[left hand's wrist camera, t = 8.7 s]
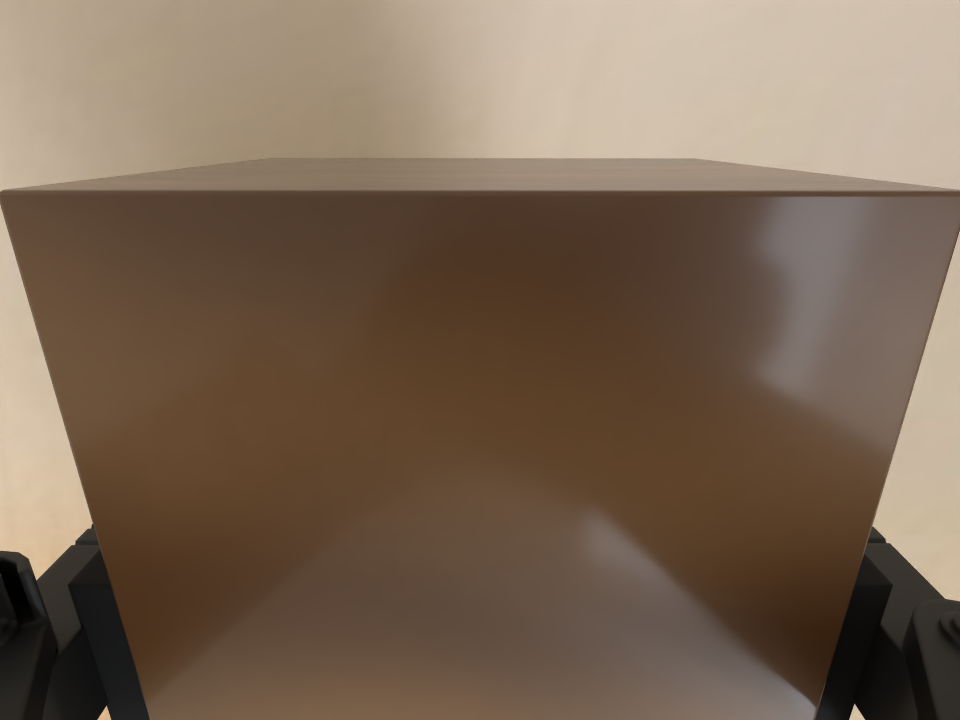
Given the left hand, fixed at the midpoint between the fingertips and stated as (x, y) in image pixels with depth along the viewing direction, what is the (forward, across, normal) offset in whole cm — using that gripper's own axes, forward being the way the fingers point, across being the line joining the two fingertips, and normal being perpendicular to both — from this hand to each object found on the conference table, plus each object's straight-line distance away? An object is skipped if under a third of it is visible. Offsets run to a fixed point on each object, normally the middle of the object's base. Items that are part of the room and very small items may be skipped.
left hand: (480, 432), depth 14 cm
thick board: (+1, 0, -34) cm, 34 cm away
